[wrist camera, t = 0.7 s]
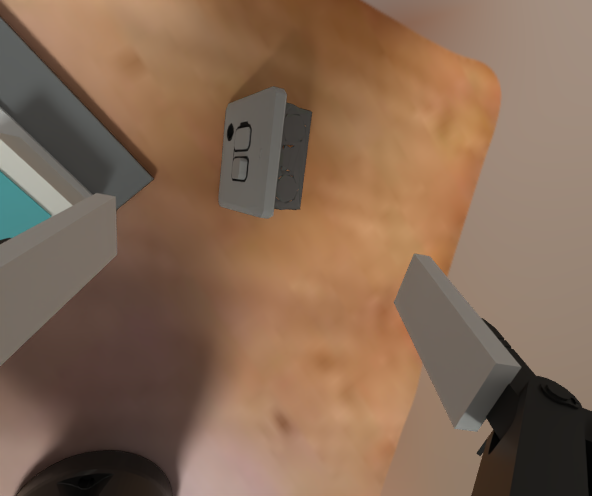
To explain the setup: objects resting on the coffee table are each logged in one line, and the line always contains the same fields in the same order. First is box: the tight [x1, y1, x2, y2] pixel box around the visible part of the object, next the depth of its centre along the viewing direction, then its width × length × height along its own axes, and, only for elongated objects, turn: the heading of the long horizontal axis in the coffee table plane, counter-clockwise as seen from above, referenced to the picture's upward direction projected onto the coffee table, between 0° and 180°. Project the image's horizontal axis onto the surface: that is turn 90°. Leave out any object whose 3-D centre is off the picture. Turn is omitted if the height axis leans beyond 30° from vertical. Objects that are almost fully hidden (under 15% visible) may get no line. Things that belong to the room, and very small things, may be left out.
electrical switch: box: [218, 87, 312, 218], centre depth 28 cm, size 9×5×9 cm, turn 172°
